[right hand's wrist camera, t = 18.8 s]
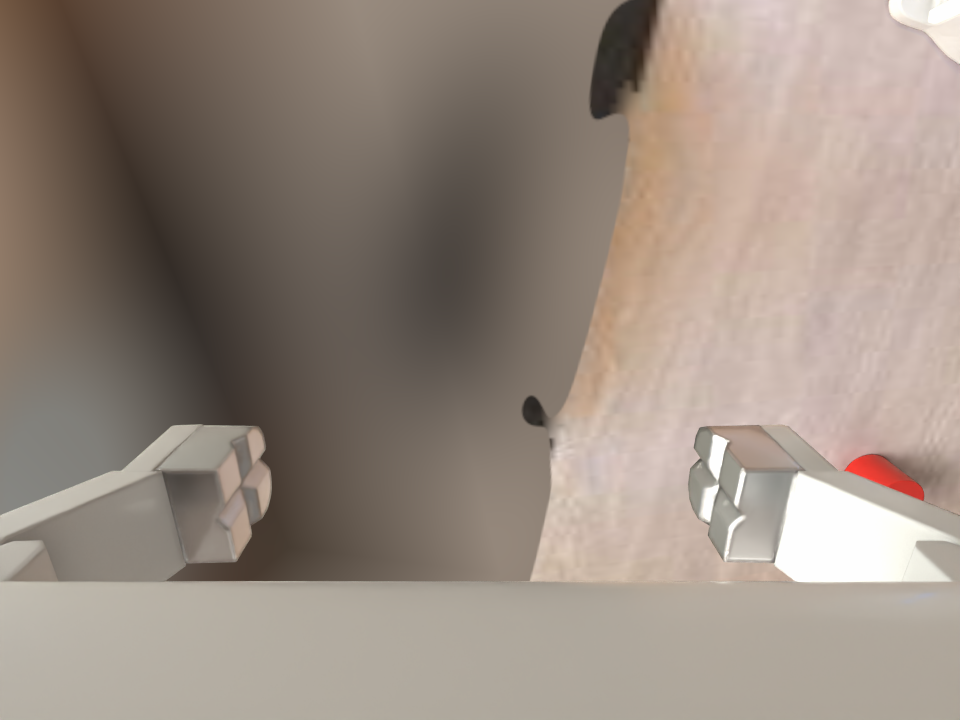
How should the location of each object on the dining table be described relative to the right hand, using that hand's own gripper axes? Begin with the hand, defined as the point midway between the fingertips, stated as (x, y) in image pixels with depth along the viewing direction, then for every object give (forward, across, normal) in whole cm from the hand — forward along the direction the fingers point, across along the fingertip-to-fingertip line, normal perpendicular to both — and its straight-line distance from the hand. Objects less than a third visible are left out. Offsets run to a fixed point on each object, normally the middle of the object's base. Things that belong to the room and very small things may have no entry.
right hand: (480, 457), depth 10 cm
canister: (+36, +38, -25) cm, 58 cm away
